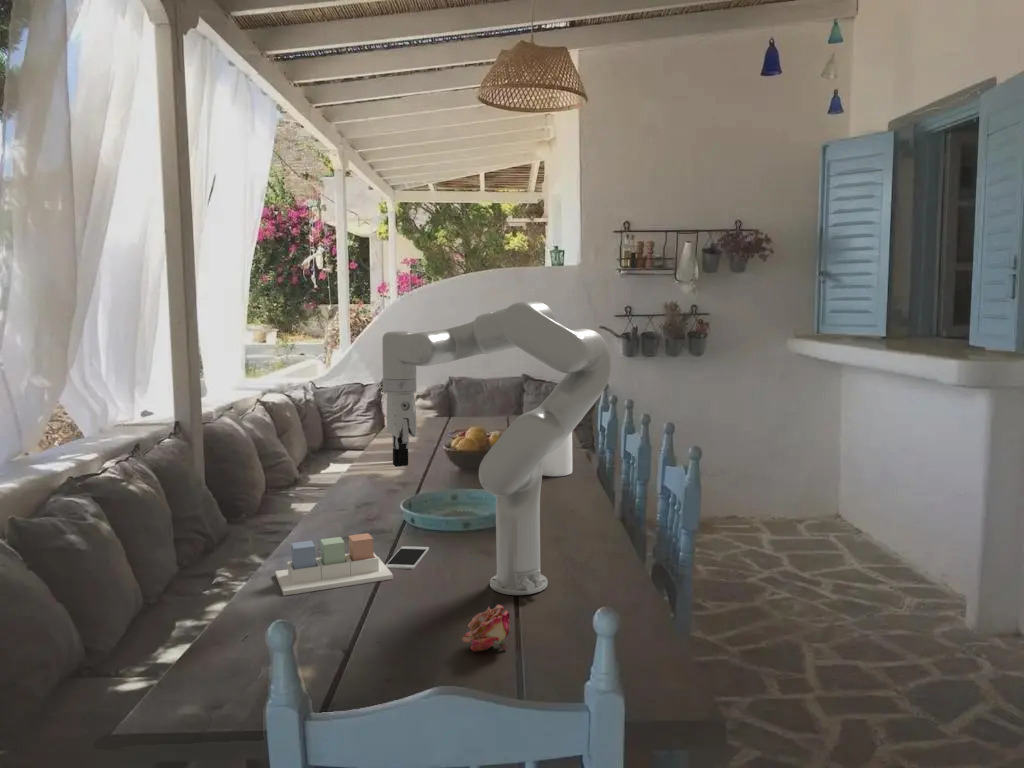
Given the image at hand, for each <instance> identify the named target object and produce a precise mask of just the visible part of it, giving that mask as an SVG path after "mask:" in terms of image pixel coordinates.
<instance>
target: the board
mask: <svg viewBox="0 0 1024 768" xmlns="http://www.w3.org/2000/svg"><path fill="white" fill-rule="evenodd" d="M373 554H374V558H372V559H365V560H358V561H352V560H351V558H350V556H349V553H345V562H343V563H336V564H329V565H323V563H322V561H321V556H320V557H316V566H315V567H308V568H301V569H294V568H293V566H292V560H291V561H287V562H286V563H287V569H281V570H276V571H275V572H274V573H275V577H276V580H277V582H278V585H279V588H280V590H281V592H282V595H283V596H289V595H297V594H304V593H311V592H315V591H316V592H317V591H324V590H330V589H337V588H344V587H349V586H357V585H363V584H370V583H375V582H382V581H388V580H394V574H393V573H392V572H391V570H390V568H387V567H386V566H385V565H386V563H384V562H383V561H382V559H381V557H379V556H377V555H376V553H375V552H374V551H373Z"/></svg>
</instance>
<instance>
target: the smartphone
mask: <svg viewBox="0 0 1024 768" xmlns="http://www.w3.org/2000/svg"><path fill="white" fill-rule="evenodd" d="M429 550H430V547H429V546H406V545H405V546H403V545H402V546H401V547H399V548H398V550H397V551H396V552H395V553H394V554H393V556H392V557H391V558H390V559H389V560H388V561H387V563H385V566H386V567H387V568H388V569H395V570H396V569H397V570H399V569H400V570H402V569H403V570H413V569H415V568H416V566H417V565H418V564H419V563H420V562H421V560H422V559H423V558H424V557H425V555H426V554H427V552H428V551H429Z"/></svg>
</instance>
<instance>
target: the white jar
mask: <svg viewBox="0 0 1024 768" xmlns="http://www.w3.org/2000/svg"><path fill="white" fill-rule="evenodd" d="M572 473H573V431H572V432H571V433H570V434H569V436H568V437H567V438H566V440H565V441H564V442H563V444H562V445H561V446H560V447H559V448H557V449H556V450H554V451H553V452H551V453H549V454H547V455H546V456H545V457H544V458H543V459H542V476H544V477H551V478H552V477H554V478H555V477H565V476H569V475H571V474H572Z"/></svg>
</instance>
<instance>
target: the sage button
mask: <svg viewBox="0 0 1024 768" xmlns="http://www.w3.org/2000/svg"><path fill="white" fill-rule="evenodd" d="M319 542H320V543H319V544H320V557H321V561H322V563H323V565H329V564H336V563H343V562H345V554H346V549H345V547H346V546H345V545H346V544H345V540H344V539H343V538H342V537H341V536H336V537H329V538H321V539H320V541H319Z"/></svg>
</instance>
